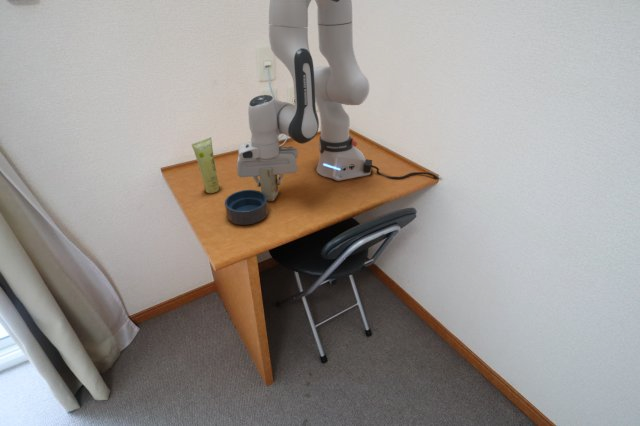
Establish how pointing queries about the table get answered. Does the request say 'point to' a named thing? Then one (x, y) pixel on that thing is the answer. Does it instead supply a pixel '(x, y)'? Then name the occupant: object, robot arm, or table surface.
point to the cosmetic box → (268, 183)
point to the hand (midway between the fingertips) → (269, 185)
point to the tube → (206, 164)
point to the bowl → (246, 207)
